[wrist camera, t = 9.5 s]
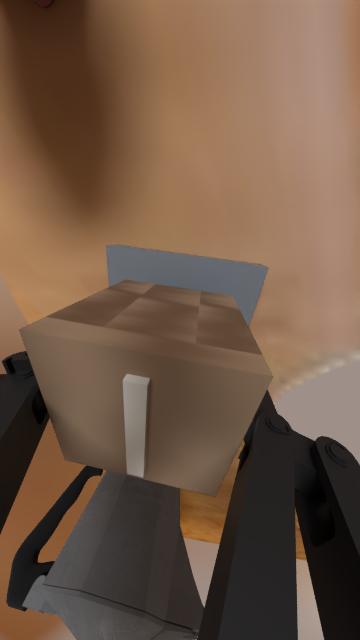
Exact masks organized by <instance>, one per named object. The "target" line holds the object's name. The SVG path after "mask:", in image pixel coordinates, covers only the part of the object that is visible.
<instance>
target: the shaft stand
mask: <svg viewBox="0 0 360 640" xmlns="http://www.w3.org/2000/svg"><path fill="white" fill-rule="evenodd" d="M106 252H107V266H108V280H109V287H111V286H113V285H115V284H117V283H119V282H121V281H124V280H133V281H139V282H146V283H152V284H159V285H165V286H172V287H179V288H185V289H192V290H198V291H205V292H211V293H218V294H225V295H231V296H233V297H234V299H235V301H236V303H237V305H238V307H239V309H240V311H241V313H242V315H243V317H244V319H245V321H246V323H247V325H248V327H249V324H250V321H251V318H252V315H253V312H254V309H255V306H256V303H257V300H258V297H259V294H260V291H261V288H262V286H263V283H264V280H265V277H266V274H267V271H268V267H266V266H263V265H261V264H254V263H247V262H239V261H232V260H225V259H217V258H210V257H203V256H195V255H188V254H181V253H174V252H166V251H159V250H152V249H144V248H137V247H130V246H122V245H106Z"/></svg>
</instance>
